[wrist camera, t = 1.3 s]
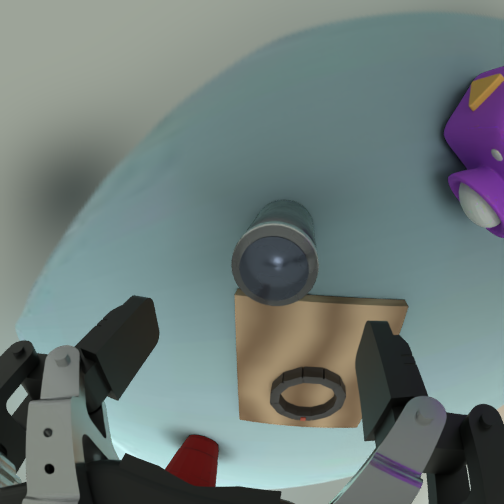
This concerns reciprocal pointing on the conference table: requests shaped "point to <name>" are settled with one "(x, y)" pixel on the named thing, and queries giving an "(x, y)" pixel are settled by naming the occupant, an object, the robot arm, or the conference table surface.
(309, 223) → the lens
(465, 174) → the toy camera
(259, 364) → the mount
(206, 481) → the plastic cup
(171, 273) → the conference table surface
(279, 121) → the conference table surface
